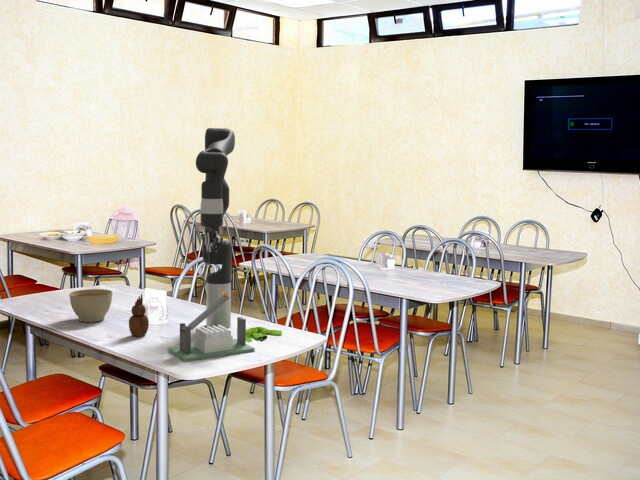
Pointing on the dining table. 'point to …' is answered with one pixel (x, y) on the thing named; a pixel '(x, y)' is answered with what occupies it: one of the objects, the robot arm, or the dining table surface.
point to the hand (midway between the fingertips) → (211, 262)
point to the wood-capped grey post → (208, 311)
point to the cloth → (260, 333)
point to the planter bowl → (91, 304)
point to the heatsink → (211, 342)
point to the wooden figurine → (138, 319)
